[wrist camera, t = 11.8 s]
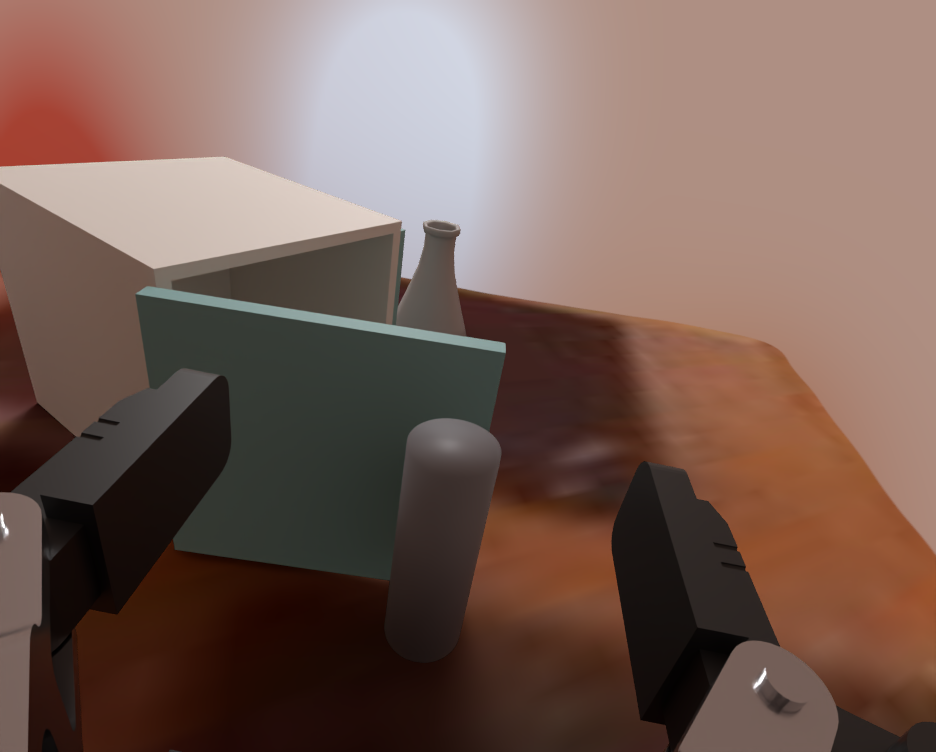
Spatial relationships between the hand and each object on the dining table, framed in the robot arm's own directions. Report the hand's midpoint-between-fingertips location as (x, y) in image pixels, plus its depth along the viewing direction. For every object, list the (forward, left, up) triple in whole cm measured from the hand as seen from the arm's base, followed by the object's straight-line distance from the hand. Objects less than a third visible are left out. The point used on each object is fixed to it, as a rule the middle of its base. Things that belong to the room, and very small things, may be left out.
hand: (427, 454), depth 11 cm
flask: (+38, +1, -16) cm, 41 cm away
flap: (+7, +4, -15) cm, 18 cm away
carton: (+22, +13, -16) cm, 30 cm away
